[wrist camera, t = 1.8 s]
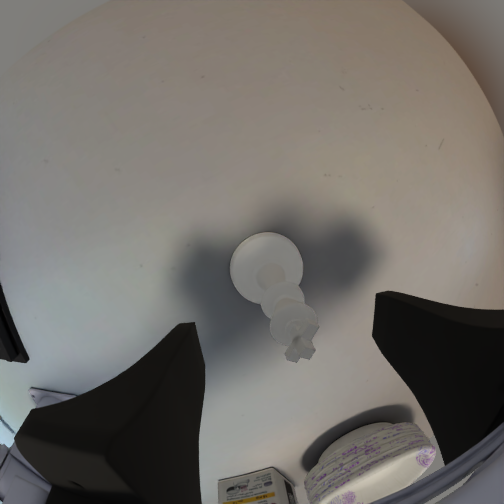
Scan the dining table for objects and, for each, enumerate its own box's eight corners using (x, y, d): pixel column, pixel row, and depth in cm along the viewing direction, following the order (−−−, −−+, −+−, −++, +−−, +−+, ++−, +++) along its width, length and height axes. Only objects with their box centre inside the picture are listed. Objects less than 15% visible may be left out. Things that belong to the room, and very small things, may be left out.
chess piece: (314, 250, 19) (393, 313, 9) (282, 311, 19) (325, 410, 10) (248, 219, 18) (277, 263, 8) (218, 286, 18) (213, 384, 9)
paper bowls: (428, 409, 26) (457, 446, 18) (356, 475, 28) (372, 512, 20) (355, 395, 23) (388, 452, 15) (274, 471, 25) (284, 522, 17)
